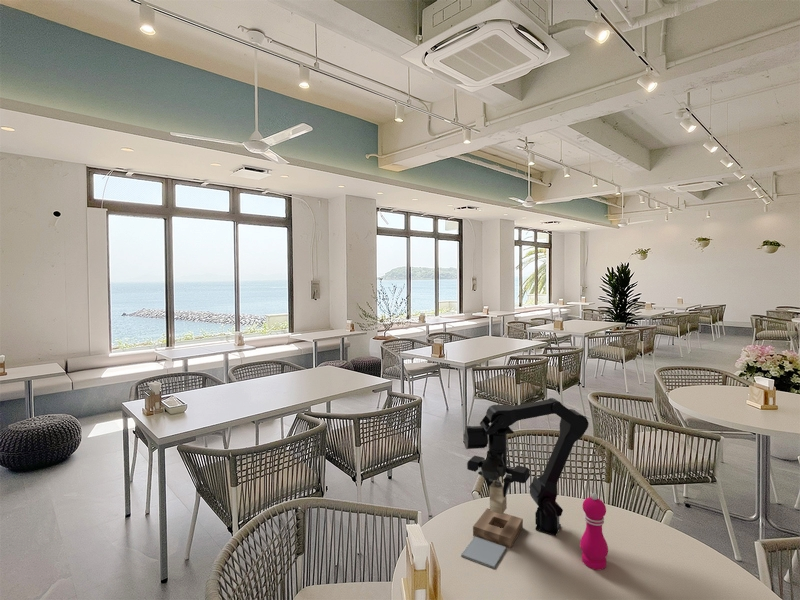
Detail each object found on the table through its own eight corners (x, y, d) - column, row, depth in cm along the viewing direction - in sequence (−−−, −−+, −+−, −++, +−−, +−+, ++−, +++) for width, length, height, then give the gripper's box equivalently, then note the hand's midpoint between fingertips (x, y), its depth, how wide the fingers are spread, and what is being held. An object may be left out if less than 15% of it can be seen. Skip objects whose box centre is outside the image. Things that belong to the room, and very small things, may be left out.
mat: (506, 548, 127) (506, 546, 127) (494, 568, 119) (494, 566, 119) (474, 538, 132) (474, 536, 132) (461, 556, 124) (461, 554, 124)
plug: (506, 508, 136) (506, 480, 135) (502, 514, 132) (501, 486, 132) (494, 505, 138) (493, 477, 137) (490, 510, 135) (489, 483, 134)
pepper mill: (602, 554, 124) (603, 487, 122) (612, 571, 116) (613, 500, 115) (576, 553, 124) (576, 486, 123) (584, 570, 117) (585, 500, 116)
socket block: (522, 527, 137) (522, 518, 137) (510, 548, 127) (510, 538, 127) (487, 516, 144) (487, 508, 144) (473, 535, 134) (473, 526, 134)
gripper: (459, 449, 132) (460, 498, 133) (519, 463, 122) (519, 515, 123) (473, 437, 142) (474, 483, 143) (530, 449, 131) (530, 498, 132)
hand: (498, 495), depth 135 cm, fingers closed on plug, 4 cm apart
